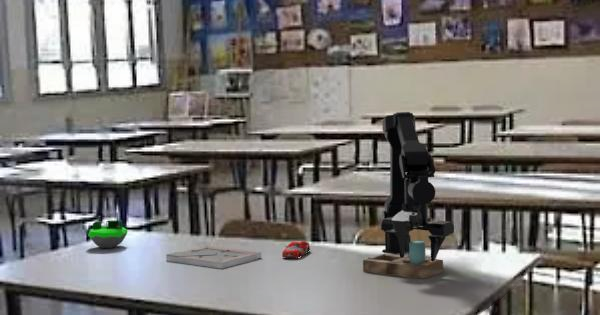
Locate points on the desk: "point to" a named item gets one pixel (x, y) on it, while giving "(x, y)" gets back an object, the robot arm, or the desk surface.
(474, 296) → the desk surface
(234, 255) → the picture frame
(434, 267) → the socket block
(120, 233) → the green grey rounded piece
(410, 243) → the teal rounded cylinder
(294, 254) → the race car
